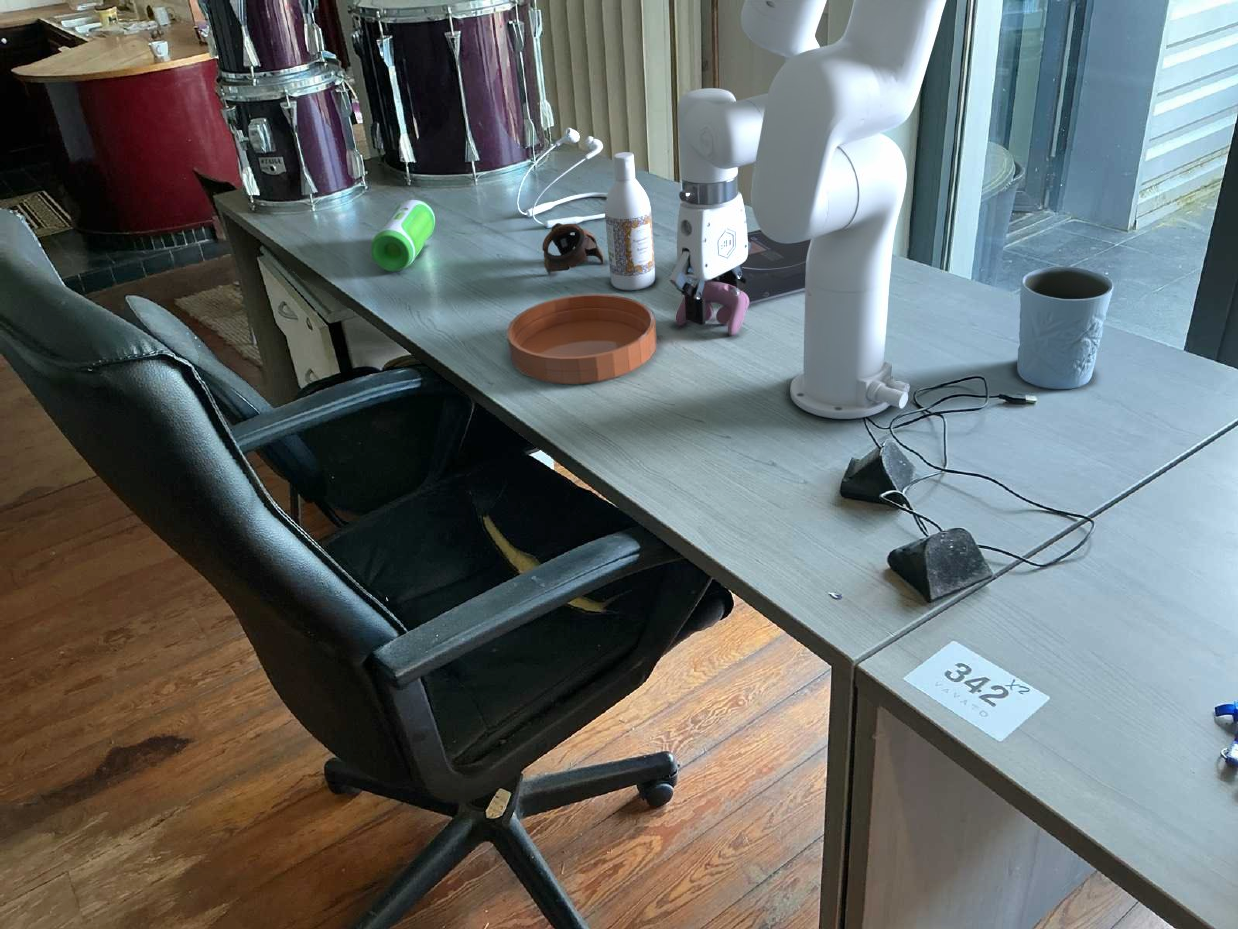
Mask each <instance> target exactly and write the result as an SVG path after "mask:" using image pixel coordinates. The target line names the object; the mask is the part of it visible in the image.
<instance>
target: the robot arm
mask: <svg viewBox="0 0 1238 929" xmlns="http://www.w3.org/2000/svg"><path fill="white" fill-rule="evenodd" d="M946 2H947V0H853V2H852V8H851V13H850V16H849V19H848V22H847V25H846V28H845V30H844V33H843V35H842V36H841V38H840V39H838V40H837V41H836V42H834V43H832V44H828V45H823V46H820V44H819V42H818V41H817V39H816V32H817V29H818V26H819V23H820V20H821V17H822V15H823V12H824V10H825V6H826V4H827V0H744V3H743V5H742V8H741V12H740V26H741V28H742V31H743V33H744V34H745V35H746V36H747V38H748V39H749V40H750V41H752V42H753V43H754V44H755V45H757V46H759V47H760V48H762V49H764V50H766V51H767V52H770V53H773V54H775V55H779V56H782V57H785V58H784V64H783V65H781V67H780V69H779V70H778V72H776V75H775V76H774V78H773V80H772V82H771V84H770V87H769V90H768V92H767V93H763V94H762V93H761V94H757V95H755V96H750V97H746V98H742V99H739V100H737V99H736V97H735V95H734V94H733V93H732V92H731V91H729V90H726V89H723V88H716V87H715V88H714V87H709V88H707V87H706V88H698V89H694V90H690V91H688V92H686V93H684V94H682V95H681V96H680V97H679V99H678V102H677V108H676V109H677V110H676V112H677V131H678V132H677V133H678V134H677V136H678V154H679V155H678V156H679V173H680V175H679V178H680V180H679V182H680V191H679V194H678V198H679V199H680V201H681V203H679V208H678V209H679V211H678V216H677V229H676V262H677V263H676V265H675V267H674V268H673V270H672V273H671V274H670V276H669V279H668V280H669V283H670V284H672V285H673V287H675V288H676V290H677V291H679V292H680V294H681V295H682V296H683V297H684V296H685V310H686V319H687V321H688V322H690V323H694V324H696V325H700V326H703V325H705V324H706V322H707V321H706V314H705V298H704V297H701V296H702V292H703V288H704V284H705V282H708V281H712V280H711V279H713V278H715V277H717V276H719V275H721V274H723V275H724V276H723V275H721V276H719V282H722V283H726V284H730V285H732V286H734V287H736V288H737V289H739V280H738V279H740V278H741V276H742V271H741V269H742V267H743V265H744V263H745V261H746V259H747V255H748V252H749V250H750V248H751V243H750V242H749V241H748V240H747V233H748V227H747V217H746V216H747V215H746V212H745V211H746V209H745V205H744V200H743V196H742V193H741V192H740V191H739V176H738V175H739V174H738V172H739V171H738V170H739V168H740V167H743V166H747V165H751V164H754V166H753V171H752V179H751V187H750V202H751V209H752V214H753V217H754V220H755V222H756V224H757V226H758V228H759V230H761V231H762V232H763V233H764V234H765V235H766V236H767V237H768V238H770V239H772V240H774V241H776V242H779V243H786V244H788V243H797V242H802V241H805V240H809V239H811V242H810V245H809V249H808V253H807V259H806V276H805V290H804V318H803V319H804V320H803V322H804V325H803V326H804V327H803V368H802V369H803V370H802V371H801V372H799V373H798V374H797V375H795V376H794V377H793V378H792V380H791V382H790V386H789V388H790V391H789V394H790V399H791V400H792V401H793V403H794V404H795V405H796V406H798V408H800V409H802V411H805V412H807V413H810V414H811V415H815V416H818V417H821V418H822V417H823V418H827V419H837V420H854V419H862V418H867V417H871V416H873V415H876V414H879V413H881V412H883V411H885V410H886V409H887V408H889V407H890V406H892V407H895V408H899V409H900V410H901V409H904V408H905V406H906V405H907V403H908V400H909V394H908V393H909V392H910V387H911V385H910V384H909V383H907V382H904V381H902V380H896V379H894V377H893V376H892V371H893V370H892V369H893V364H891V363H889V362H885V355H886V354H885V353H886V351H885V350H886V337H887V322H888V306H889V291H890V278H891V270H892V257H893V256H892V255H893V246H894V239H895V232H896V228H897V224H898V219H899V215H900V212H901V209H902V204H903V201H904V198H905V193H906V187H907V186H906V185H907V175H908V174H907V166H906V161H905V156H904V155H903V153H902V151H901V149H900V147H899V146H898V145H897V144H896V142H895V141H893V140H892V139H891V138H889V137H888V136H886V135H884V134H883V133H887V132H888V131H890V130H893V129H896V128H897V127H899V126H900V125H902V124H904V122H906V121H907V119H909V117H910V116H911V114H912V112H913V110H914V108H915V106H916V102H917V101H918V100H917V99H918V97H919V94H920V91H921V87H922V84H923V81H924V77H925V74H926V71H927V67H928V64H929V60H930V57H931V54H932V51H933V47H934V44H935V40H936V37H937V34H938V31H939V26H940V23H941V19H942V15H943V11H944V8H945V6H946ZM693 280H696V282H695V283H696V286H695V288H694V287H693V286H692V285H693Z"/></svg>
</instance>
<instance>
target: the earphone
mask: <svg viewBox="0 0 1238 929" xmlns="http://www.w3.org/2000/svg"><path fill="white" fill-rule="evenodd" d="M579 141H580V134H579V132H578V131H577V130H575V129H572V128H571V127H567V128H566V129H565V130H564V136H563V137H561V138H559V139H558V140H557V141H555V142H554V145H552V146H551V147H550V148H549V149H548V150H546V151H545V152H544V153H543V154H542V155H540V156H539V158H537V160H536V161H534V162H533V164H532V165H531V166H530V167H529V168H528V170H527V171H526V172H525V174H524V176H523V177H522V179H521V181H520V184H519V187H518V191H517V197H516V208H517V211H518V212H519V213H520V214H521V215H525V216H526V217H528V218H530V217H532V219H533V220H534V221H535V222H536V223H537V224H539V225H542V226H545V227H546V228H547V229H550V228H551V229H552V227H553V226H554V225H555V224H556V223H561V224H563V225H564V224H573V225H574V224H575V225H577V224H579V223H582V222H586V221H593V220H600V219H603V218H604V219H605V212H604V213H600V214H599V213H598V214H594V215H586V216H569V217H563V218H555V219H549V220H546V221H545V223H544V222H541V221H539V220H538V219H536V217H535V215H538V214H540V213H543V212H546V211H548V210H551V209H552V208H553V207H555V206H558V205H561V204H563V203H567V202H569V201H572V200H573V201H574V200H578V199H585V198H592V197H594V198H595V197H599V198H600V197H601V198H607V196H608V193H607V192H586V193H579V194H574V195H571V196H566V197H563V198H561V199H558V200H555V201H547V202H544V203H541V204H538V205H537V203H538V201H539V199H540V198H541V197H542V195H543V194H544V193H545V191H546V190H548V188H550V187H551V186H552V185H553V184H554V183H556V181H558V180H559V179H560V178H562V177H563V176H565V175H566V174H567V173H569V172H570V171H571V170H573V169H574V168H575V167H577V166H578V165H580V164H581V163H584V161H586V160H587V161H588V160H589V159H592V158H593V157H595V156H597V155H598V154H599V153H600V152H601V151H603V148H604V145H603V143H602V141H601V140H599V139H598V138H594V137H593V136H591V135H588V136H587V137H586V139H585V141H584V144H585V146H586V147H589V150H590V151H589V152H588V153H587V154H585V155H584V158H582V159H581V160H579V161H578V162H576V163H575V164H573V165H572V166H570V167H569V168H568V169H567V170H565V171H564V172H563V173H561V174H560V175H559V176H558V177H556V178H555V179H553V180H552V181H551V182H549V184H548V185H547V186H546V187H544V188H543V190H541V192H540V193H539V194H538V196H537V197H536V199H535V201H534V203H533V205H532V207H530V208H528V209H526V210H525V212H523V211H521V209H520V206H519V199H520V195H521V194H520V193H521V191H522V190H521V189H522V186H523V183H524V181H525V179H526V177H527V176H528V174H529V173H530V172H531V171H532V169H533V168H534V167H535V166H536V165H537V163H539V161H540V160H541V159H543V158H544V157H545V156H546V155H548V153H550V151H552V150H553V149H554V148H556V147H559V146H561V145H562V144H564V143H565V142H570V143H573V144H575V143H578V142H579Z"/></svg>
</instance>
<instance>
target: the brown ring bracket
mask: <svg viewBox="0 0 1238 929" xmlns="http://www.w3.org/2000/svg"><path fill="white" fill-rule="evenodd" d="M550 230H551V231H549V233H548V234H547V235H546V236H545V237H544V240H543V242H542V244H541V245H542V248H541V249H542V252H543V258H544V259H543V261H544V262H543V265H544V268H545V270H546V272H547V274H548V275H550V276H551V275H552V274H553V273H554V272H563V271H568V270H570V268H575V267H576V266H578V265H579V264H581V263H589V262H590V260H589V259H588V257H596V258H597V259H598V260H599V261H600V263H601V264H602V265H604V263H605V261H604V254H603V252H602V250H601V249H600V247H599V246H598V243H597V239H596V237H595V235H593V234H592V233H591V232H590V231H588V230H587V229H584V228H582V227H580V226H579V225H577V224H564V225H563V224H561V223H556V224H555V225H554V226H553V227H552V228H551V229H550ZM572 233H574V234H572ZM551 243H553V244H554V246H555V247H556V248H557V250H558V251H557V252H558V253H559V254H557V255H556V254H552V253H550V252H549V247H550V244H551Z"/></svg>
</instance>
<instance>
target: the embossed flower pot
mask: <svg viewBox="0 0 1238 929" xmlns="http://www.w3.org/2000/svg"><path fill="white" fill-rule="evenodd" d="M1113 291H1114V283H1113V281H1112V280H1111V279H1110V278H1109V277H1107V276H1105V275H1103V274H1102V273H1100V272H1096V271H1094V270H1091V269H1086V268H1081V267H1072V266H1050V267H1043V268H1038V269H1034V270H1031V271H1029V272H1027V273H1026V274H1024V275H1023V276H1022V278H1021V280H1020V290H1019V292H1020V293H1019V298H1020V299H1019V301H1020V302H1019V304H1020V307H1019V309H1020V310H1019V332H1018V336H1019V346H1018V348H1017V366H1016V368H1017V373H1018V375H1019V377H1021V379H1022V380H1024V381H1025V382H1026V383H1029V384H1031V385H1034V386H1036V387H1040V388H1044V389H1050V390H1071V389H1077V388H1079V387H1082V386H1084V385H1086V384H1087V383H1089V381H1090V380H1091V378H1092V376H1093V372H1094V368H1095V365H1096V360H1097V356H1098V350H1099V347H1100V344H1101V339H1102V336H1103V332H1104V323H1105V320H1106V315H1107V313H1108V309H1109V306H1110V302H1111V298H1112V295H1113Z"/></svg>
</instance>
